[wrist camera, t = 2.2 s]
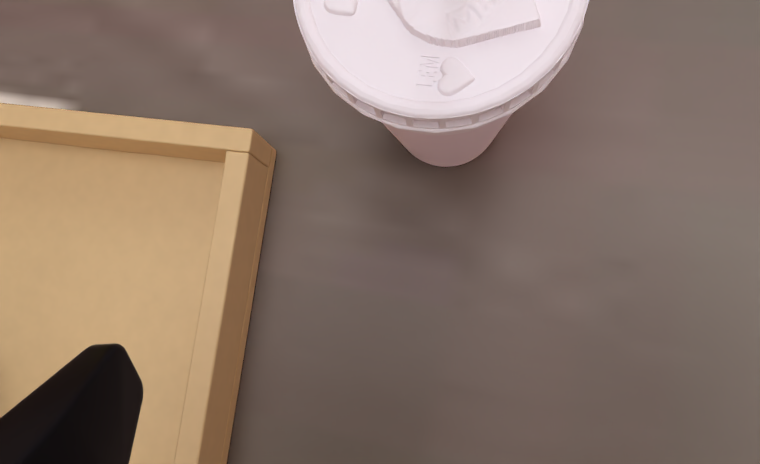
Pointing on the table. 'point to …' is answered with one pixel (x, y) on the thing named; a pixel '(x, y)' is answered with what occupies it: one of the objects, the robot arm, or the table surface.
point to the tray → (133, 262)
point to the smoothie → (440, 63)
